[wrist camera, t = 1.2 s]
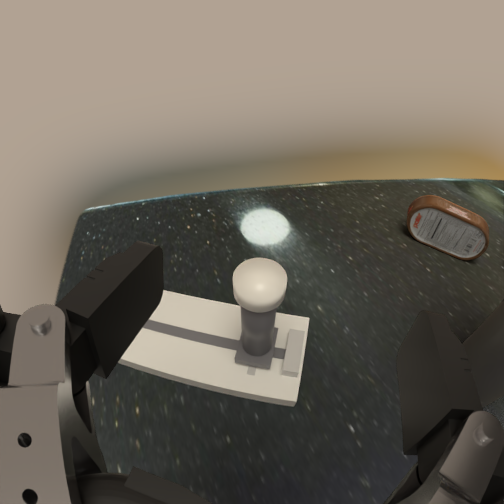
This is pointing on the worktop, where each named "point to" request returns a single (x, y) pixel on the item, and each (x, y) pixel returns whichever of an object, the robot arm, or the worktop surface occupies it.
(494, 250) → the worktop surface
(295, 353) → the console
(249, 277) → the fader
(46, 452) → the robot arm
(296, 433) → the worktop surface
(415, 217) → the tin
